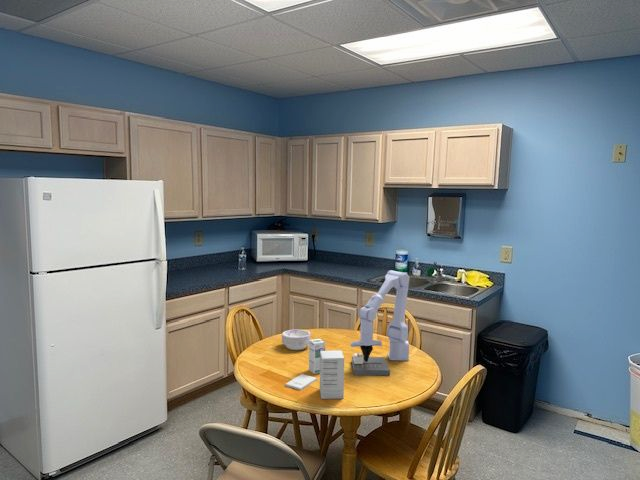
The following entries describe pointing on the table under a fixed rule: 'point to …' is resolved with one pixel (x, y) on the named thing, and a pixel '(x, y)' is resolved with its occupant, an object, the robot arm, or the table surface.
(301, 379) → the external hard drive
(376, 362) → the slide fader panel
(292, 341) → the paper bowls
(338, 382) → the supplement box
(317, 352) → the syrup box
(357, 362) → the fader knob
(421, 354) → the table surface
